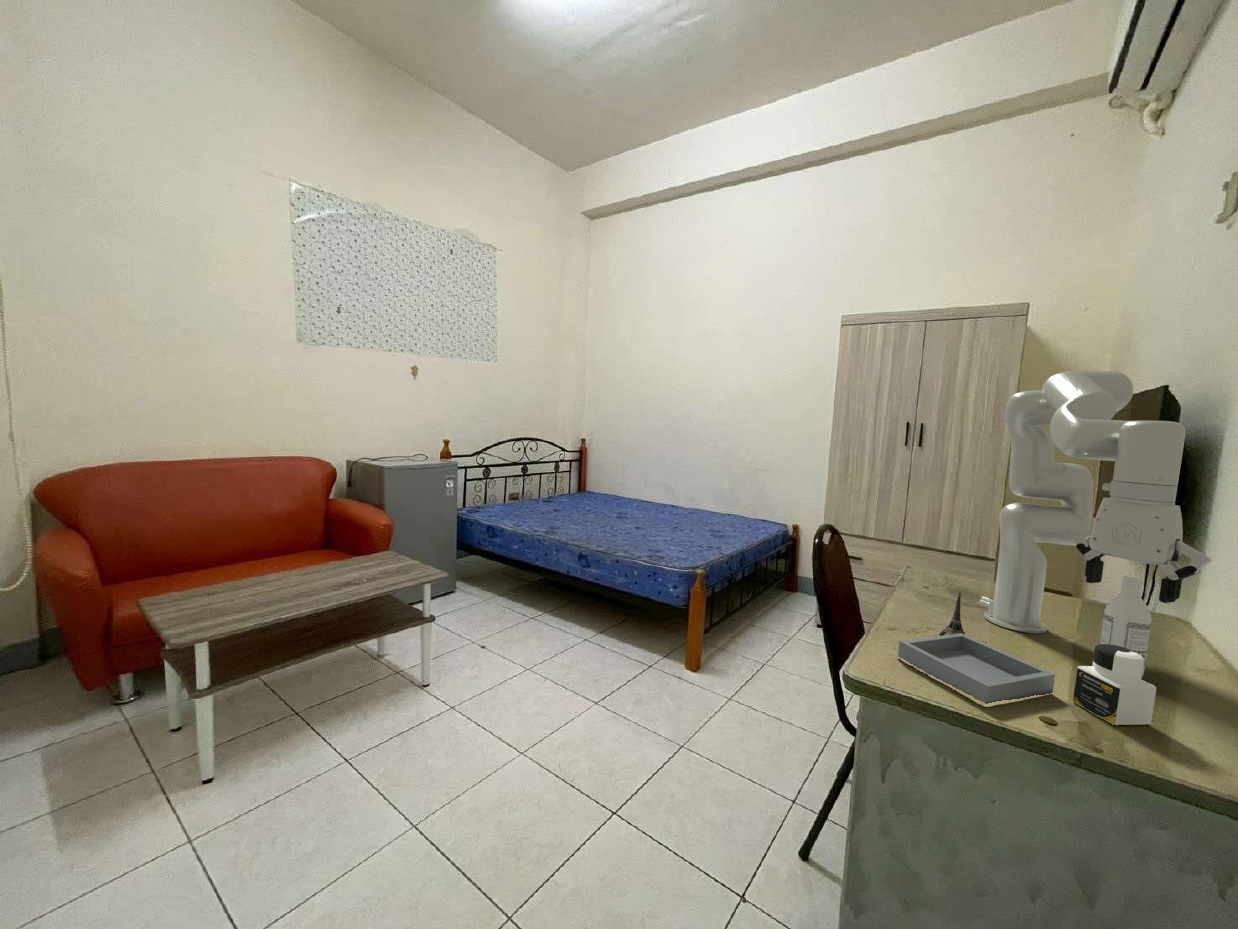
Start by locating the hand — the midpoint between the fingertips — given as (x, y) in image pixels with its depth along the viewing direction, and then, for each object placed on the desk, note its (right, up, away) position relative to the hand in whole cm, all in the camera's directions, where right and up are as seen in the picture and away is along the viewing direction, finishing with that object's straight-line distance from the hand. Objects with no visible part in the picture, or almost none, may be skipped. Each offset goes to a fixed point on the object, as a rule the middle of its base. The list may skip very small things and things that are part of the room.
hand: (1128, 591), depth 84 cm
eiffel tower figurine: (-10, -20, +29) cm, 36 cm away
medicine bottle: (-1, -22, +2) cm, 23 cm away
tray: (-18, -20, +13) cm, 30 cm away
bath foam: (+18, -22, +19) cm, 34 cm away
